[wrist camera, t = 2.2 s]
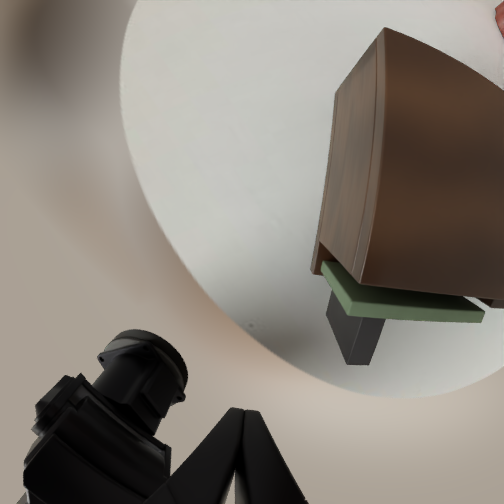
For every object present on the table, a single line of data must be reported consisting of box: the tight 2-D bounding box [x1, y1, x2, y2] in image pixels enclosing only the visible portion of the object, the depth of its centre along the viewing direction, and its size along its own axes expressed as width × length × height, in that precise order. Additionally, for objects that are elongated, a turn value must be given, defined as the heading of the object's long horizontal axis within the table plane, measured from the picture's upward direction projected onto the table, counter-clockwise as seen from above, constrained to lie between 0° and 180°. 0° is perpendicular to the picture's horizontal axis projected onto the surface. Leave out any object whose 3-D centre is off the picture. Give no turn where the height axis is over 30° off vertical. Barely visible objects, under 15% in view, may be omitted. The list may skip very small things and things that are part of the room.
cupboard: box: [310, 27, 504, 309], centre depth 12 cm, size 12×18×9 cm
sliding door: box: [321, 261, 485, 365], centre depth 14 cm, size 3×9×6 cm, turn 82°
